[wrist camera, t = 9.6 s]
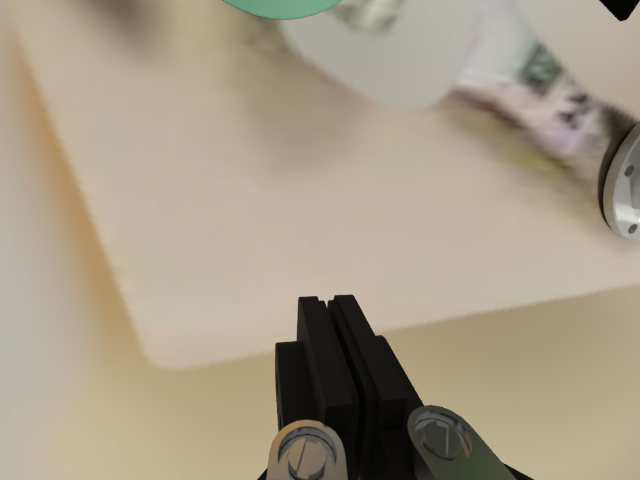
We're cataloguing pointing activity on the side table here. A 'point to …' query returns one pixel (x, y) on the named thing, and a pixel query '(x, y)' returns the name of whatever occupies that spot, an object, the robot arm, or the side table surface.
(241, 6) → the disc
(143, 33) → the side table surface
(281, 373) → the robot arm
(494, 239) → the side table surface
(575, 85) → the side table surface
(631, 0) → the build plate
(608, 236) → the side table surface
